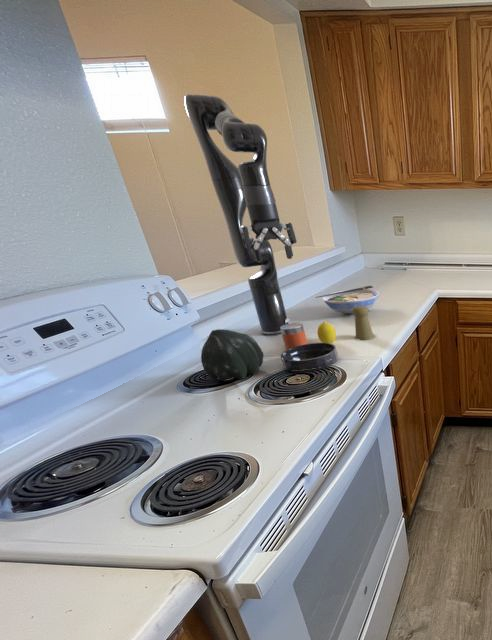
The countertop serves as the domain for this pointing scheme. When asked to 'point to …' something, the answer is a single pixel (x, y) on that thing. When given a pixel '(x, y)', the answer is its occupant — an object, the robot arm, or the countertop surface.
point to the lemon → (326, 333)
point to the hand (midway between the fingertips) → (275, 260)
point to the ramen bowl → (351, 299)
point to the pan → (309, 357)
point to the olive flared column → (362, 323)
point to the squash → (230, 355)
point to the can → (293, 335)
